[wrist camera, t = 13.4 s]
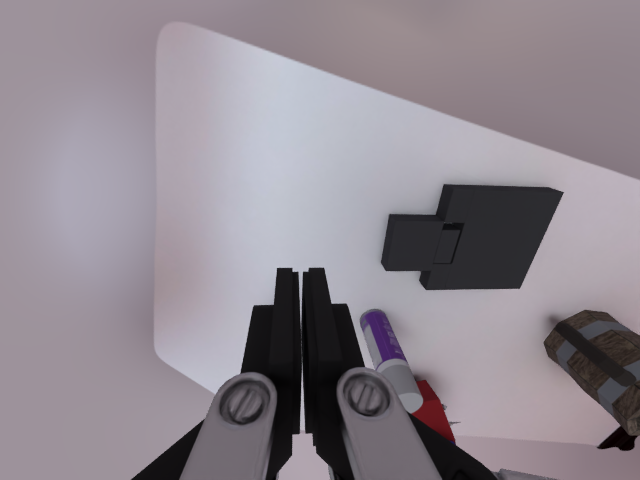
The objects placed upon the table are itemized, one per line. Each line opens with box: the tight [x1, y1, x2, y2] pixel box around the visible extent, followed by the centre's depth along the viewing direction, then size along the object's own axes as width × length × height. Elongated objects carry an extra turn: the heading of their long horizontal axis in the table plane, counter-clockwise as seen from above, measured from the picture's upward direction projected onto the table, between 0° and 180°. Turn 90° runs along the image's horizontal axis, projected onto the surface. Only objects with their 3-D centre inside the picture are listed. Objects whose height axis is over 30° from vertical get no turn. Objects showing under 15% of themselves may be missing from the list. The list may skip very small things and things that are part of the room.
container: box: [360, 309, 423, 413], centre depth 40 cm, size 5×5×15 cm
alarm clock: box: [411, 380, 459, 445], centre depth 47 cm, size 15×9×20 cm, turn 9°
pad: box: [381, 214, 460, 271], centre depth 40 cm, size 8×10×2 cm
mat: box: [419, 184, 564, 290], centre depth 40 cm, size 16×16×2 cm
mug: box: [544, 310, 640, 435], centre depth 46 cm, size 20×14×15 cm
